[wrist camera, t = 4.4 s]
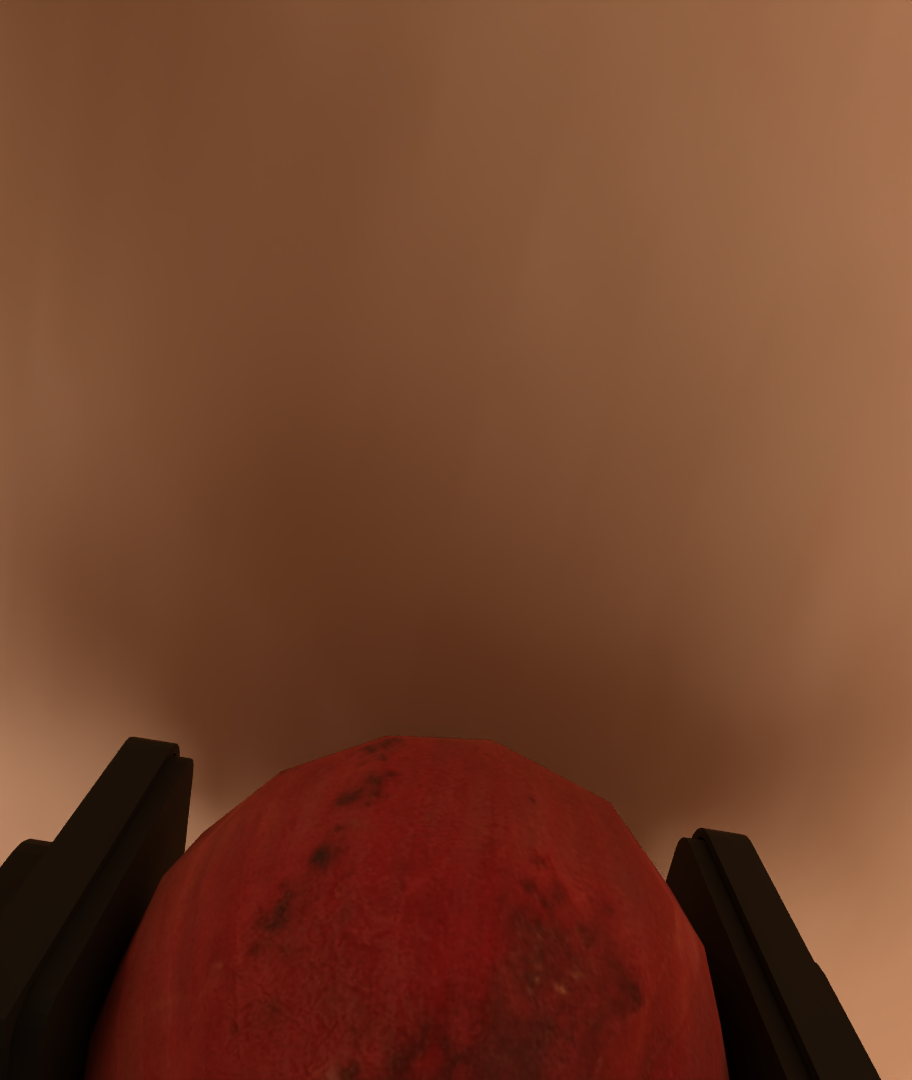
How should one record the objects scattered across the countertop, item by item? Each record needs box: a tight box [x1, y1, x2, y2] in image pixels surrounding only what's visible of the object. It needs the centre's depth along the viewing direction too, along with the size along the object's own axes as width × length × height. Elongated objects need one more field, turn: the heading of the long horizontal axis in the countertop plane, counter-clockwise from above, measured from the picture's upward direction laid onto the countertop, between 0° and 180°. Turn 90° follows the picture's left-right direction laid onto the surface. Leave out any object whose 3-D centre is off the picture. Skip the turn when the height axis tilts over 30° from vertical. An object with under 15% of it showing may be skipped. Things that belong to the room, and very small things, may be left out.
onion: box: [84, 736, 729, 1080], centre depth 8 cm, size 6×6×8 cm
